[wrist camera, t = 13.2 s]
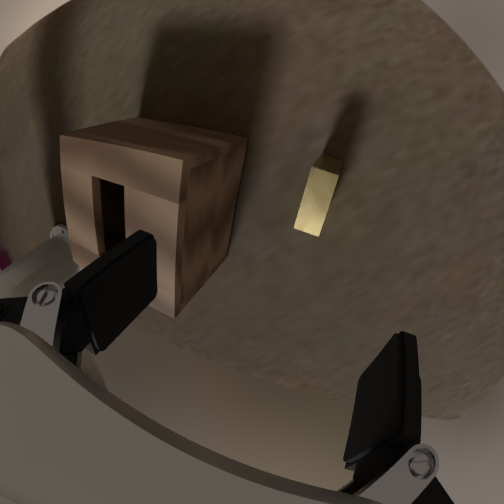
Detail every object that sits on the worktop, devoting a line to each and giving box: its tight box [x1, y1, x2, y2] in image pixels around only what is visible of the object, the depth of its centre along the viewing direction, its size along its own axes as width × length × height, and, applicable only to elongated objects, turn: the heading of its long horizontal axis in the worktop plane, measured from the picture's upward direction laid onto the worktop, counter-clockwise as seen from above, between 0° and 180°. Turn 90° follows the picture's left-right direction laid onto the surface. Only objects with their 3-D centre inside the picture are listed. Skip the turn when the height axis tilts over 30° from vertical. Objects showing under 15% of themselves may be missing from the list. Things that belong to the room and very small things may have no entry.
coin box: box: [60, 117, 248, 319], centre depth 26 cm, size 14×14×11 cm
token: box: [294, 154, 343, 237], centre depth 22 cm, size 5×2×6 cm, turn 169°
